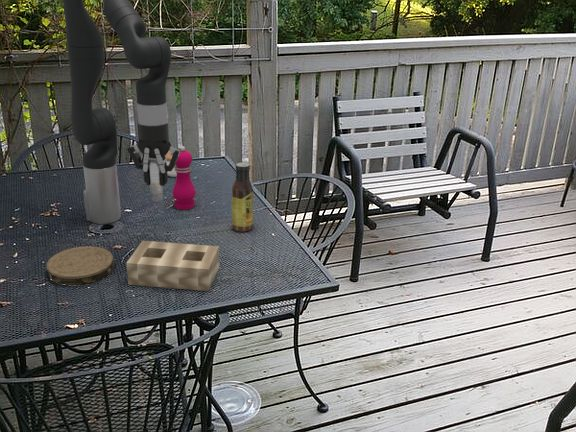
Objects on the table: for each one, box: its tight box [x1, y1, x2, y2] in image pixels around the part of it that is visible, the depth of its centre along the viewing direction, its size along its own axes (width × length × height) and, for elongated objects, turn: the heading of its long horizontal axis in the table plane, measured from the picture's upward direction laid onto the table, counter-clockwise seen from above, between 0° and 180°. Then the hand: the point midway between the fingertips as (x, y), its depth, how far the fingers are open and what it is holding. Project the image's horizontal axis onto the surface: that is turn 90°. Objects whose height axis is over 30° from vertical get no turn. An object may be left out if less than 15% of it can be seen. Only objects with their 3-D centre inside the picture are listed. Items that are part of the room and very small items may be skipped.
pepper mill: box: [172, 145, 196, 211], centre depth 182 cm, size 7×7×20 cm
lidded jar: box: [166, 151, 177, 178], centre depth 210 cm, size 11×11×9 cm
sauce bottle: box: [231, 162, 254, 233], centre depth 168 cm, size 7×6×20 cm
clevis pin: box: [148, 157, 164, 202], centre depth 151 cm, size 4×4×12 cm
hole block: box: [126, 240, 220, 292], centre depth 145 cm, size 20×12×6 cm, turn 84°
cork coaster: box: [46, 245, 115, 286], centre depth 147 cm, size 16×16×3 cm
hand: (156, 184), depth 152 cm, fingers closed on clevis pin, 3 cm apart
